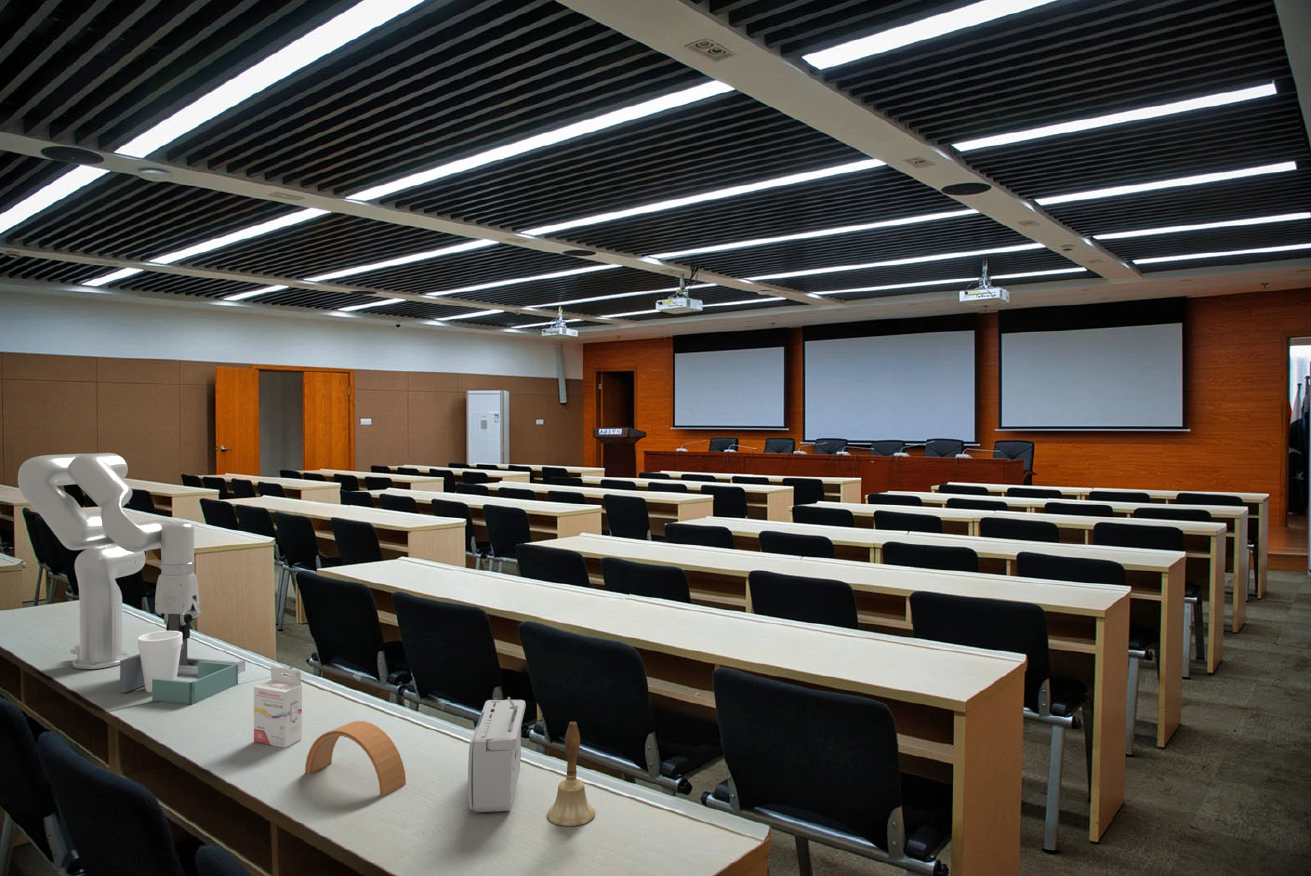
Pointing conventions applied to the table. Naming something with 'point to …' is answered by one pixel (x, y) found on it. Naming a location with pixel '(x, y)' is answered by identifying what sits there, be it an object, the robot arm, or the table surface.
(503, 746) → the stereo radio cassette player
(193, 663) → the striker rails
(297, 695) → the ink cartridge box
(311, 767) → the arch
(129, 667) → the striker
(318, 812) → the table surface
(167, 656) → the foam cup
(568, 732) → the hand bell
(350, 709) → the table surface
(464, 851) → the table surface
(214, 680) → the box
